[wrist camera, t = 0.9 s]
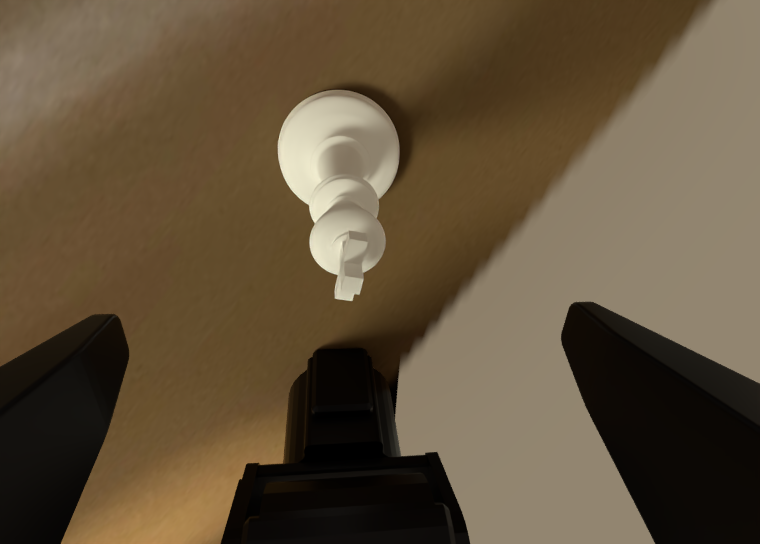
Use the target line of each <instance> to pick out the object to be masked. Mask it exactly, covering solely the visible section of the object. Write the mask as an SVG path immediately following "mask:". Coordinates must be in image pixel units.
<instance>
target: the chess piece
mask: <svg viewBox="0 0 760 544" xmlns="http://www.w3.org/2000/svg"><path fill="white" fill-rule="evenodd" d="M399 151H400V150H399V140H398V135H397V132H396V129H395V127H394V125H393V123H392V121H391V119H390V118H389V116H388V115H387V113H386V112H385V111H384V110H383V109H382V108H381V107H380V106H379V105H378V104H377V103H375V102H374V101H373V100H371V99H370V98H368V97H366V96H364V95H362V94H359V93H356V92H352V91H347V90H329V91H323V92H320V93H317V94H314V95H312V96H310V97H308V98H306V99H305V100H303V101H302V102H301V103H299V104H298V105H297V106H296V107H295V108H294V109H293V110H292V111H291V113H290V114H289V115H288V117H287V118H286V120H285V122H284V124H283V126H282V129H281V132H280V135H279V141H278V157H279V163H280V167H281V171H282V174H283V176H284V178H285V180H286V182H287V184H288V186H289V187H290V188H291V190H292V191H293V192H294V193H295V194H296V195H297V196H298V197H299V198H300V199H301V200H302V201H304V202H305V203H307V204H308V205H309V208H310V214H311V217H312V219H313V221H314V223H315V225H314V227H313V229H312V231H311V235H310V249H311V253H312V255H313V257H314V259H315V260H316V262H317V263H318V264H319V265H320V266H321V267H322V268H323V269H325V270H326V271H328V272H330V273H333V274H336V275H338V277H337V281H336V286H335V299H341V300H347V301H352V300H353V296H354V294H358V295H360V291H361V287H362V283H363V280H364V278H363V273H364V272H366V271H368V270H369V269H371V268H372V267H373V266H375V265H376V264H377V262H378V261H379V260H380V258H381V257H382V255H383V252H384V249H385V243H386V239H385V233H384V230H383V228H382V226H381V224H380V222H379V221H378V220H377V219H376V218H377V215H378V211H379V200H378V199H380V198H381V197H382V196H383V195H384V194H385V192H386V191H387V190H388V189H389V187H390V186H391V184H392V182H393V180H394V178H395V176H396V173H397V170H398V165H399Z"/></svg>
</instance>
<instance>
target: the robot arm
mask: <svg viewBox="0 0 760 544" xmlns="http://www.w3.org/2000/svg"><path fill="white" fill-rule="evenodd" d="M561 341H562V346H563V348H564V351H565V354H566V356H567V359H568V362H569V364H570V367H571V370H572V372H573V375H574V377H575V380H576V383H577V386H578V388H579V391H580V393H581V396H582V399H583V401H584V403H585V406H586V408H587V410H588V412H589V414H590V416H591V418H592V420H593V422H594V424H595V426H596V428H597V430H598V432H599V434H600V436H601V438H602V440H603V442H604V443H605V446H606V448H607V450H608V452H609V454H610V456H611V458H612V459H613V461H614V463H615V465H616V467H617V469H618V471H619V473H620V475H621V477H622V479H623V481H624V483H625V485H626V487H627V489H628V491H629V493H630V495H631V497H632V499H633V500H634V503H635V505H636V507H637V509H638V511H639V513H640V515H641V516H642V518H643V520H644V522H645V524H646V526H647V528H648V530H649V532H650V534H651V536H652V538H653V540H654V542H655V544H760V383H757V382H755V381H753V380H751V379H749V378H747V377H745V376H743V375H741V374H739V373H737V372H735V371H733V370H731V369H729V368H727V367H725V366H723V365H721V364H718V363H717V362H715V361H712V360H710V359H708V358H706V357H704V356H702V355H700V354H698V353H696V352H694V351H692V350H690V349H688V348H686V347H684V346H682V345H680V344H678V343H676V342H674V341H672V340H670V339H668V338H665V337H663V336H661V335H659V334H657V333H655V332H653V331H651V330H649V329H647V328H645V327H643V326H641V325H639V324H637V323H635V322H633V321H630V320H629V319H627V318H625V317H622V316H620V315H618V314H616V313H614V312H612V311H610V310H608V309H606V308H604V307H602V306H600V305H598V304H596V303H594V302H575V303H573V304H571V306H570V307H569V310H568V313H567V317H566V320H565V323H564V327H563V330H562V334H561ZM128 360H129V348H128V344H127V341H126V337H125V334H124V330H123V327H122V324H121V321H120V319H119V317H118V316H117V315H115V314H95V315H91V316H89V317H88V318H86V319H84V320H82V321H81V322H79V323H77V324H75V325H73V326H72V327H70V328H68V329H66V330H65V331H63V332H61V333H59V334H57V335H56V336H54V337H52V338H50V339H49V340H47V341H45V342H43V343H41V344H40V345H38V346H36V347H34V348H33V349H31V350H29V351H27V352H25V353H24V354H22V355H20V356H18V357H17V358H15V359H13V360H11V361H10V362H8V363H6V364H4V365H2V366H1V367H0V544H61V542H62V539H63V537H64V534H65V532H66V530H67V527H68V525H69V523H70V520H71V518H72V515H73V513H74V511H75V508H76V506H77V504H78V501H79V499H80V497H81V494H82V492H83V489H84V487H85V485H86V482H87V480H88V478H89V475H90V473H91V470H92V468H93V466H94V463H95V461H96V459H97V456H98V454H99V452H100V449H101V447H102V444H103V442H104V439H105V437H106V434H107V432H108V429H109V426H110V423H111V419H112V416H113V412H114V409H115V406H116V402H117V399H118V395H119V392H120V388H121V385H122V381H123V378H124V374H125V371H126V367H127V364H128ZM398 378H399V370H398V372H397V373H396V374H395V376H394V377H392V378H391V379H390V380H389V381H388V382H387V381H386V379H385V378H384V376H383V375H382V374H381V373H380V372H378V371H377V370H376V369H374V368H373V364H372V358H371V357H370V356H368V355H367V351H366V350H364V349H362V348H357V349H328V350H317V351H315V352H314V353H313V357H312V358H310V359H308V367H307V370H306V371H305V372H304V373H302V374H301V375H300V376H299V377H298V378H297V379H296V380H295V382H294V383H293V385H292V387H291V389H290V393H289V401H288V413H287V424H286V436H285V448H284V460H283V464H268V465H259V463H248V464H246V467H245V471H244V474H243V478H242V479H240V480H239V482H238V486H237V489H236V492H235V496H234V500H233V503H232V507H231V510H230V513H229V517H228V520H227V524H226V527H225V531H224V534H223V538H222V541H221V544H470V541H469V536H468V531H467V527H466V523H465V520H464V517H463V514H462V511H461V509H460V507H459V504H458V502H457V499H456V497H455V494H454V492H453V489H452V487H451V485H450V482H449V480H448V477H447V475H446V472H445V470H444V467H443V465H442V463H441V460H440V458H439V456H438V453H437V452H430V453H425V455H416V456H401V453H400V447H399V441H398V435H397V430H396V423H395V414H396V402H397V390H398Z"/></svg>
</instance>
